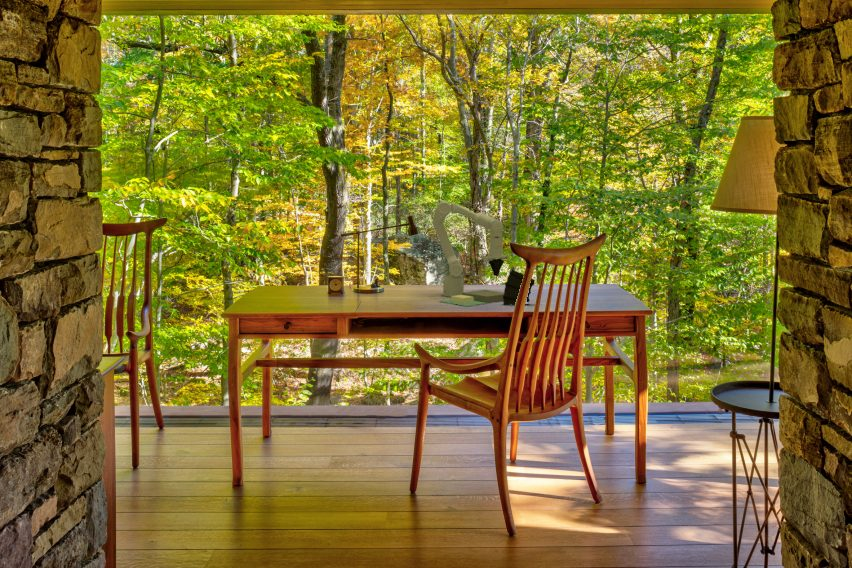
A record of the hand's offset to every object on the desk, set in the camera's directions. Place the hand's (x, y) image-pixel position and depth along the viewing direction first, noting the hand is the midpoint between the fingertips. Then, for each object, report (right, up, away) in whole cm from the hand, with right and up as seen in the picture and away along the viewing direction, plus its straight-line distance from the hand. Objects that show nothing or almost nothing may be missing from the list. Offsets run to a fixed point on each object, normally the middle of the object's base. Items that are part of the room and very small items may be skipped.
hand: (496, 275), depth 362 cm
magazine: (+8, -13, -23) cm, 28 cm away
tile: (-16, -10, -19) cm, 27 cm away
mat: (-16, -12, -18) cm, 27 cm away
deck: (-5, -11, -10) cm, 15 cm away
